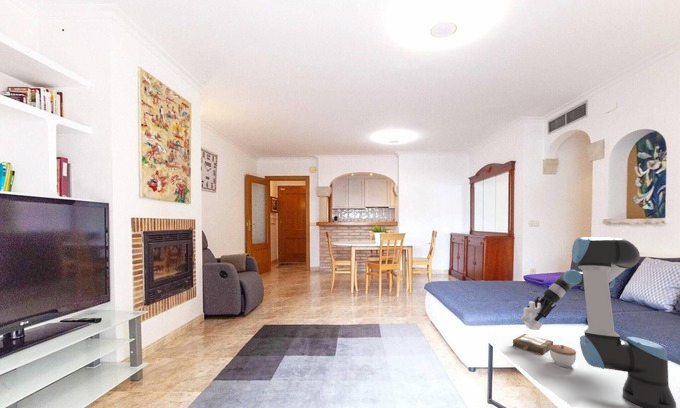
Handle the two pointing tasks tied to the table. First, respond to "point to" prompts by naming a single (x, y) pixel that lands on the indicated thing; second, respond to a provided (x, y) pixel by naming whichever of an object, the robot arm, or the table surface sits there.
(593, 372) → the table surface
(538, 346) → the wooden box
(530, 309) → the figurine
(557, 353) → the lidded jar
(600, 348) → the robot arm
